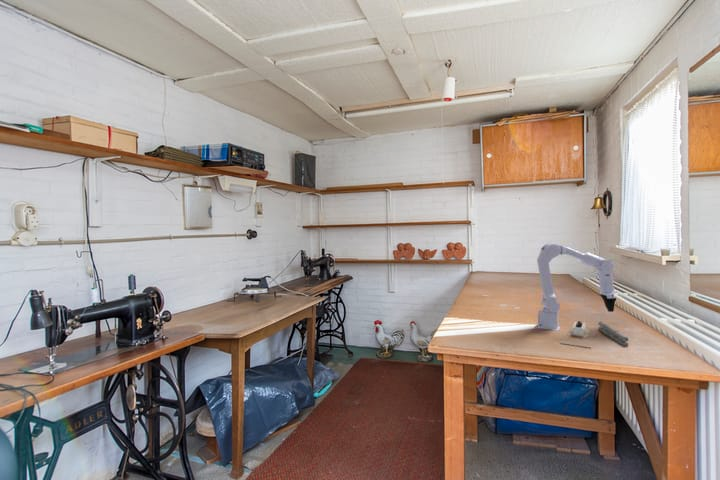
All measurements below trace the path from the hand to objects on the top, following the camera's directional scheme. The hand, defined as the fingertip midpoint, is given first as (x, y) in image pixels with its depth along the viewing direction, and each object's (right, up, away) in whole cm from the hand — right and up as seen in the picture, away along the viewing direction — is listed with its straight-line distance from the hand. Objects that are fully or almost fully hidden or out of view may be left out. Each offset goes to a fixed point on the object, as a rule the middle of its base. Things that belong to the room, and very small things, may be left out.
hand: (609, 309), depth 181 cm
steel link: (-18, -11, -5) cm, 22 cm away
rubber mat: (-27, -12, -17) cm, 34 cm away
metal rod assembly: (-7, -12, -12) cm, 18 cm away
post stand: (-18, -11, -5) cm, 22 cm away
